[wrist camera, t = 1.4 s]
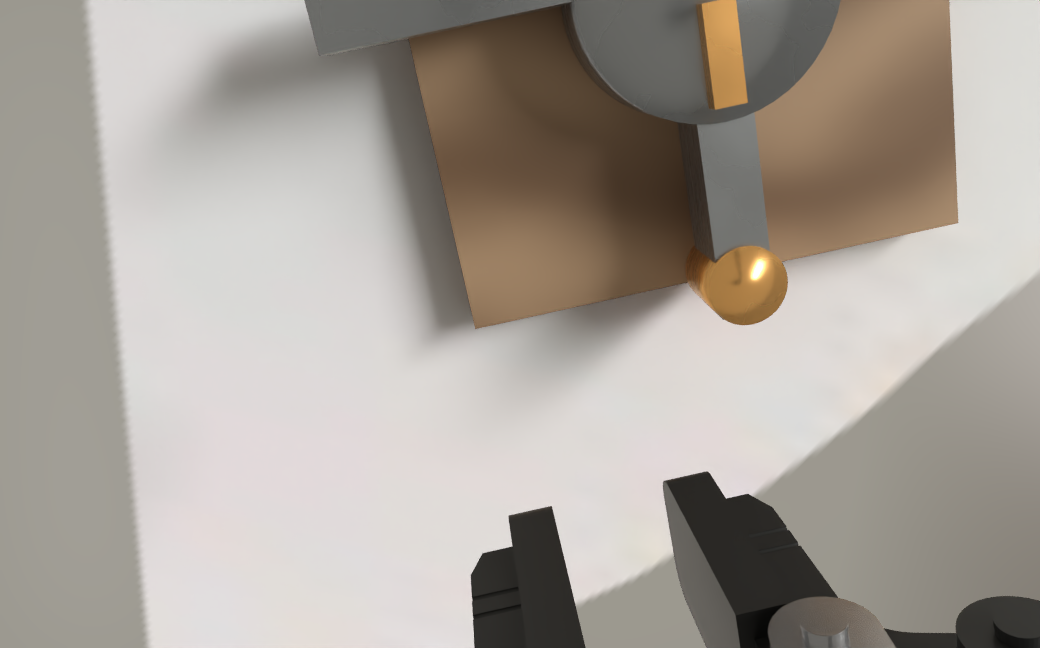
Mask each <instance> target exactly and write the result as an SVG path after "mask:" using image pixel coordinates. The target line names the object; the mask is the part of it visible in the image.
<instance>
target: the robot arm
mask: <svg viewBox="0 0 1040 648" xmlns="http://www.w3.org/2000/svg"><path fill="white" fill-rule="evenodd" d="M663 492H664V499H665V505H666V510H667V516H668V522H669V528H670V534H671V540H672V546H673V552H674V558H675V563H676V569H677V573H678V577H679V581H680V584H681V588H682V591H683V594H684V597H685V600H686V602H687V605H688V606H689V609H690V611H691V613H692V616H693V618H694V620H695V622H696V625H697V627H698V629H699V631H700V634H701V636H702V638H703V640H704V643H705V645H706V647H707V648H1040V601H1038V600H1034V599H1030V598H1023V597H1013V596H1000V597H991V598H986V599H982V600H979V601H976V602H974V603H972V604H970V605H969V606H967V607H966V608H964V609H963V610H962V612H961V613H960V614H959V616H958V618H957V621H956V633H907V632H899V631H893V630H889V629H885V628H883V626H882V625H881V623H880V622H879V620H878V619H877V618H876V617H875V616H874V615H873V614H872V613H871V612H869V611H868V610H867V609H865V608H864V607H862V606H860V605H858V604H856V603H854V602H851V601H848V600H844V599H840V598H838V597H837V595H836V594H835V593H834V591H833V590H832V589H831V587H830V586H829V584H828V583H827V582H826V580H825V579H824V578H823V576H822V575H821V573H820V572H819V571H818V570H817V568H816V567H815V565H814V564H813V562H812V561H811V560H810V558H809V557H808V556H807V554H806V553H805V552H804V550H803V549H802V547H801V546H798V542H797V541H796V539H795V538H794V536H793V535H792V534H791V532H790V531H789V530H787V528H786V525H785V524H784V523H783V521H782V520H781V519H780V517H779V516H778V514H777V513H776V512H775V511H774V509H773V508H772V507H771V506H769V505H767V504H765V503H763V502H761V501H760V500H758V499H756V498H754V497H753V496H751V495H749V494H745V495H741V496H736V497H732V498H727V499H726V498H725V497H724V495H723V493H722V492H721V490H720V489H719V487H718V486H717V484H716V482H715V481H714V479H713V478H712V476H711V475H710V473H709V472H707V471H706V472H702V473H697V474H693V475H688V476H684V477H680V478H675V479H671V480H666V481H664V482H663ZM509 524H510V531H511V538H512V545H513V547H509V548H505V549H500V550H496V551H491V552H487V553H483V554H482V556H481V558H480V559H479V561H478V563H477V565H476V567H475V569H474V570H473V572H472V574H471V587H472V599H473V601H472V606H473V618H474V620H473V626H474V645H475V648H585V644H584V640H583V635H582V632H581V627H580V623H579V619H578V615H577V610H576V606H575V602H574V598H573V594H572V589H571V585H570V581H569V577H568V573H567V568H566V564H565V560H564V556H563V552H562V548H561V543H560V539H559V535H558V531H557V527H556V522H555V518H554V514H553V510H552V506H550V507H545V508H541V509H536V510H532V511H527V512H523V513H518V514H514V515H509Z"/></svg>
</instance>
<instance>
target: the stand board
mask: <svg viewBox="0 0 1040 648" xmlns="http://www.w3.org/2000/svg"><path fill="white" fill-rule="evenodd" d="M409 43H410V48H411V52H412V56H413V61H414V65H415V69H416V74H417V78H418V82H419V87H420V91H421V95H422V100H423V104H424V108H425V113H426V117H427V121H428V126H429V130H430V134H431V139H432V143H433V147H434V152H435V156H436V160H437V165H438V169H439V173H440V178H441V182H442V186H443V191H444V195H445V199H446V204H447V208H448V212H449V217H450V221H451V225H452V230H453V234H454V238H455V243H456V247H457V251H458V256H459V260H460V264H461V269H462V273H463V277H464V282H465V286H466V290H467V295H468V299H469V303H470V308H471V312H472V316H473V321H474V325H475V329H477V328H482V327H487V326H491V325H496V324H500V323H505V322H509V321H514V320H518V319H523V318H528V317H532V316H537V315H541V314H546V313H550V312H555V311H559V310H564V309H569V308H573V307H578V306H582V305H587V304H591V303H596V302H600V301H605V300H610V299H614V298H619V297H623V296H628V295H632V294H637V293H641V292H646V291H650V290H655V289H660V288H664V287H669V286H673V285H678V284H682V283H687V282H688V281H687V277H686V270H685V269H686V261H687V258H688V255H689V253H690V251H691V249H692V247H693V246H694V238H693V231H692V224H691V217H690V210H689V203H688V195H687V188H686V181H685V174H684V167H683V160H682V153H681V146H680V139H679V132H678V125H677V122H674V121H671V120H667V119H663V118H660V117H656V116H653V115H649V114H646V113H642V112H639V111H636V110H634V109H632V108H629V107H627V106H625V105H623V104H622V103H620V102H618V101H617V100H615V99H613V98H612V97H611V96H609V95H608V94H607V93H606V92H604V91H603V90H602V89H601V88H600V87H599V86H598V85H597V84H596V83H595V82H594V81H593V80H592V79H591V78H590V77H589V76H588V74H587V73H586V71H585V70H584V69H583V67H582V66H581V64H580V63H579V61H578V59H577V57H576V55H575V53H574V52H573V50H572V47H571V45H570V42H569V39H568V37H567V34H566V31H565V26H564V22H563V18H562V11H561V6H560V7H555V8H551V9H546V10H541V11H537V12H532V13H527V14H522V15H518V16H513V17H508V18H504V19H499V20H494V21H489V22H485V23H480V24H475V25H471V26H466V27H461V28H457V29H452V30H447V31H442V32H438V33H433V34H428V35H424V36H419V37H414V38H409ZM754 113H755V122H756V131H757V140H758V149H759V158H760V167H761V176H762V184H763V193H764V202H765V211H766V220H767V229H768V238H769V247H770V252H772V253H773V254H774V255H776V256H777V257H778V258H779V259H780V261H781V262H783V261H787V260H792V259H796V258H801V257H805V256H810V255H814V254H819V253H824V252H828V251H833V250H837V249H842V248H846V247H851V246H855V245H860V244H864V243H869V242H874V241H878V240H883V239H887V238H892V237H896V236H901V235H905V234H910V233H915V232H919V231H924V230H928V229H933V228H937V227H942V226H946V225H951V224H956V223H958V207H957V182H956V158H955V133H954V109H953V85H952V60H951V36H950V12H949V0H840V5H839V10H838V13H837V16H836V19H835V22H834V25H833V28H832V31H831V33H830V35H829V37H828V39H827V41H826V43H825V45H824V47H823V49H822V50H821V52H820V54H819V55H818V57H817V58H816V60H815V62H814V63H813V64H812V66H811V67H810V68H809V69H808V71H807V72H806V73H805V74H804V76H803V77H802V78H801V79H800V80H799V81H798V82H797V83H796V84H795V85H794V86H793V87H792V88H791V89H790V90H789V91H787V92H786V93H785V94H783V95H782V96H781V97H779V98H778V99H777V100H776V101H774V102H772V103H771V104H769V105H767V106H766V107H764V108H762V109H761V110H759V111H756V112H754Z"/></svg>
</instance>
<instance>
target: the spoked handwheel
mask: <svg viewBox="0 0 1040 648" xmlns="http://www.w3.org/2000/svg"><path fill="white" fill-rule="evenodd" d="M305 4H306V8H307V11H308V15H309V19H310V23H311V27H312V30H313V34H314V38H315V42H316V45H317V49H318V53H319V55H334V54H339V53H344V52H348V51H353V50H358V49H362V48H367V47H372V46H377V45H381V44H386V43H391V42H395V41H400V40H405V39H409V38H414V37H419V36H424V35H428V34H433V33H438V32H442V31H447V30H452V29H457V28H461V27H466V26H471V25H475V24H480V23H485V22H489V21H494V20H499V19H504V18H508V17H513V16H518V15H522V14H527V13H532V12H537V11H541V10H546V9H551V8H555V7H560V6H561V11H562V18H563V22H564V26H565V31H566V34H567V37H568V39H569V42H570V45H571V47H572V50H573V52H574V53H575V55H576V57H577V59H578V61H579V63H580V64H581V66H582V67H583V69H584V70H585V71H586V73H587V74H588V76H589V77H590V78H591V79H592V80H593V81H594V82H595V83H596V84H597V85H598V86H599V87H600V88H601V89H602V90H603V91H604V92H606V93H607V94H608V95H609V96H611V97H612V98H613V99H615V100H617V101H618V102H620V103H622V104H623V105H625V106H627V107H629V108H632V109H634V110H636V111H639V112H642V113H646V114H649V115H653V116H656V117H660V118H663V119H667V120H671V121H674V122H677V125H678V132H679V139H680V146H681V153H682V160H683V167H684V174H685V181H686V188H687V195H688V203H689V210H690V217H691V224H692V231H693V238H694V246H693V247H692V249H691V251H690V253H689V255H688V258H687V261H686V269H685V270H686V277H687V281H688V283H689V285H690V287H691V288H692V290H693V291H694V292H695V293H696V294H697V295H698V296H699V297H700V298H701V299H702V300H703V301H704V302H705V303H706V304H707V305H708V306H709V307H710V308H711V309H712V310H713V311H715V312H716V313H717V314H718V315H719V316H720V317H721V318H722V319H723V320H724V319H725V320H726V321H728V322H731V323H733V324H738V325H751V324H755V323H758V322H761V321H763V320H765V319H767V318H768V317H769V316H771V315H772V314H773V313H774V312H775V311H776V310H777V309H778V308H779V306H780V305H781V303H782V302H783V300H784V298H785V295H786V291H787V285H788V279H787V273H786V270H785V267H784V265H783V263H782V262H781V261H780V259H779V258H778V257H777V256H776V255H774V254H773V253H772V252H770V247H769V238H768V229H767V220H766V211H765V202H764V193H763V184H762V176H761V167H760V158H759V149H758V140H757V131H756V122H755V113H754V112H756V111H759V110H761V109H762V108H764V107H766V106H767V105H769V104H771V103H772V102H774V101H776V100H777V99H778V98H779V97H781V96H782V95H783V94H785V93H786V92H787V91H789V90H790V89H791V88H792V87H793V86H794V85H795V84H796V83H797V82H798V81H799V80H800V79H801V78H802V77H803V76H804V74H805V73H806V72H807V71H808V69H809V68H810V67H811V66H812V64H813V63H814V62H815V60H816V58H817V57H818V55H819V54H820V52H821V50H822V49H823V47H824V45H825V43H826V41H827V39H828V37H829V35H830V33H831V31H832V28H833V25H834V22H835V19H836V16H837V13H838V10H839V5H840V0H305Z"/></svg>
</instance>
